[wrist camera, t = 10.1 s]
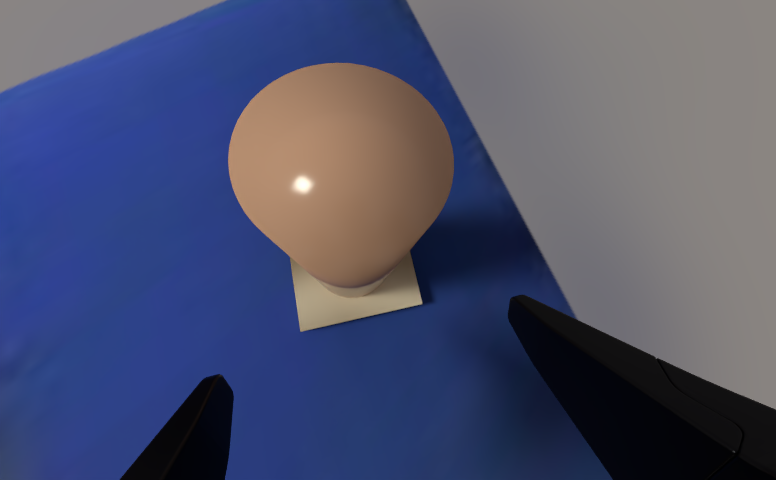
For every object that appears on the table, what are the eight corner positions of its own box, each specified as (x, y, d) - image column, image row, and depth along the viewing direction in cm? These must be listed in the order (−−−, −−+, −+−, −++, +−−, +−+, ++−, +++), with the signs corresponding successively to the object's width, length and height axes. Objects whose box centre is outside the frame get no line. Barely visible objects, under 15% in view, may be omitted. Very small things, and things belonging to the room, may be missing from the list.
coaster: (420, 304, 20) (422, 304, 19) (302, 330, 18) (300, 331, 18) (394, 198, 21) (396, 194, 21) (286, 216, 20) (283, 212, 19)
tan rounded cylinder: (405, 252, 20) (492, 144, 7) (358, 314, 18) (363, 313, 6) (347, 207, 20) (332, 30, 8) (296, 264, 19) (175, 163, 6)
